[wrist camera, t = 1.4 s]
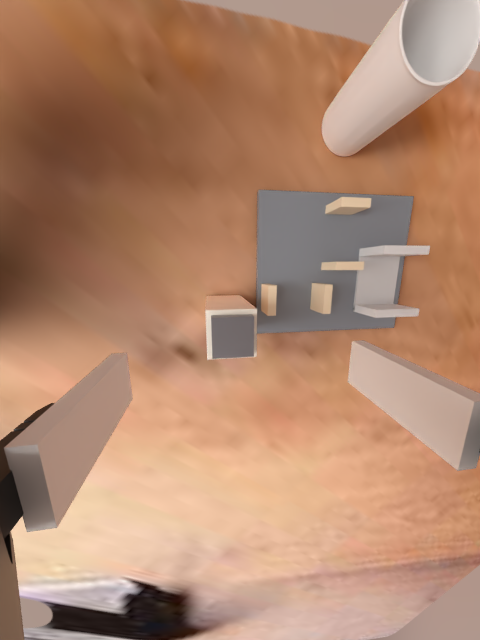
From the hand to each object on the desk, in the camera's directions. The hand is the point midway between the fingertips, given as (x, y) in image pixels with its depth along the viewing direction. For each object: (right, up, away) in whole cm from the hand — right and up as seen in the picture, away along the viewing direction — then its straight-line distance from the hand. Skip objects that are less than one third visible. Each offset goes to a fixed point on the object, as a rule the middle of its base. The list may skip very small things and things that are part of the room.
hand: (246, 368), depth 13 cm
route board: (+12, +10, +18) cm, 24 cm away
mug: (+13, +28, +15) cm, 34 cm away
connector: (-3, +4, +18) cm, 18 cm away
